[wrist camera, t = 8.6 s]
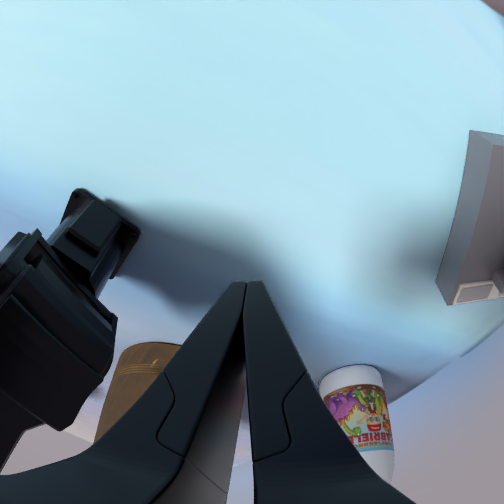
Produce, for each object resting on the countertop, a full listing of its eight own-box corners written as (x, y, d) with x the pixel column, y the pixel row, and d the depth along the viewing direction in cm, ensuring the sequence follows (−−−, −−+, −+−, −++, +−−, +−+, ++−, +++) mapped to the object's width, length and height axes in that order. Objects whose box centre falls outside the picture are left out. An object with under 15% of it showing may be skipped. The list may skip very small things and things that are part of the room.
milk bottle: (371, 391, 37) (387, 531, 21) (315, 395, 37) (319, 541, 21) (387, 360, 32) (414, 525, 16) (322, 364, 33) (332, 541, 17)
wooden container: (190, 410, 42) (169, 544, 25) (103, 365, 37) (58, 513, 19) (261, 382, 36) (251, 559, 18) (157, 322, 30) (101, 540, 12)
